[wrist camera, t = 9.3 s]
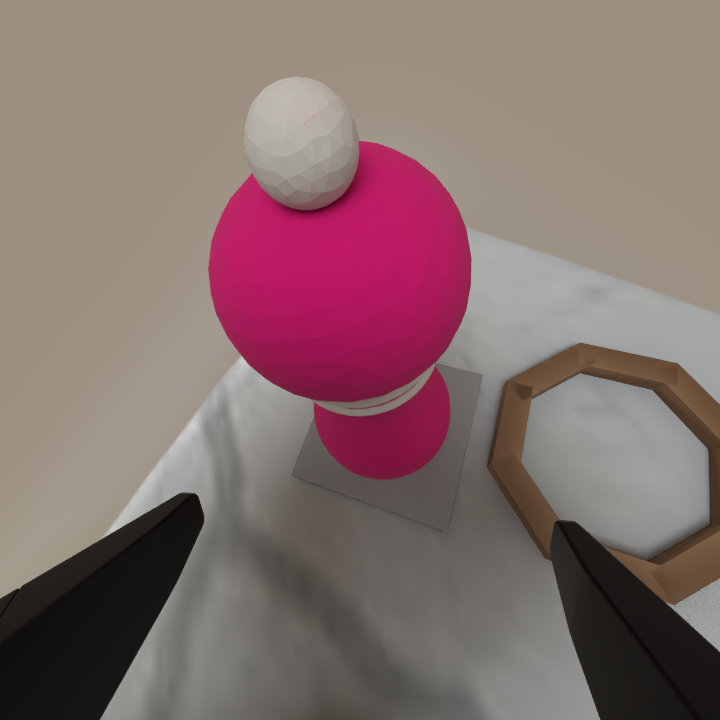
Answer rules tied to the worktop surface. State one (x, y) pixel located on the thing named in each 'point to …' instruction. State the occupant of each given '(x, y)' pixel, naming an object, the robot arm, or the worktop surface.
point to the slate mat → (414, 491)
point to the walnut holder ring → (684, 397)
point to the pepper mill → (343, 278)
